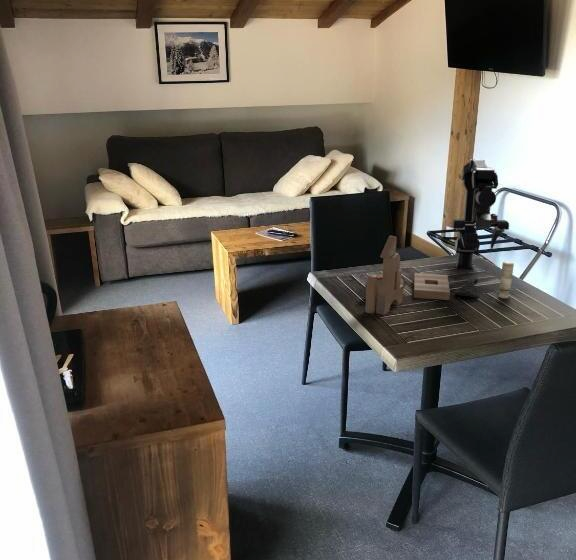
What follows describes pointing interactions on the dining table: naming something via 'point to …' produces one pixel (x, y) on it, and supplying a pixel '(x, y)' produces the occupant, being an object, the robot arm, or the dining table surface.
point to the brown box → (431, 286)
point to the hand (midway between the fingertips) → (478, 248)
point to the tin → (379, 278)
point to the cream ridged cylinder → (506, 279)
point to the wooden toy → (385, 282)
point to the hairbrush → (468, 288)
